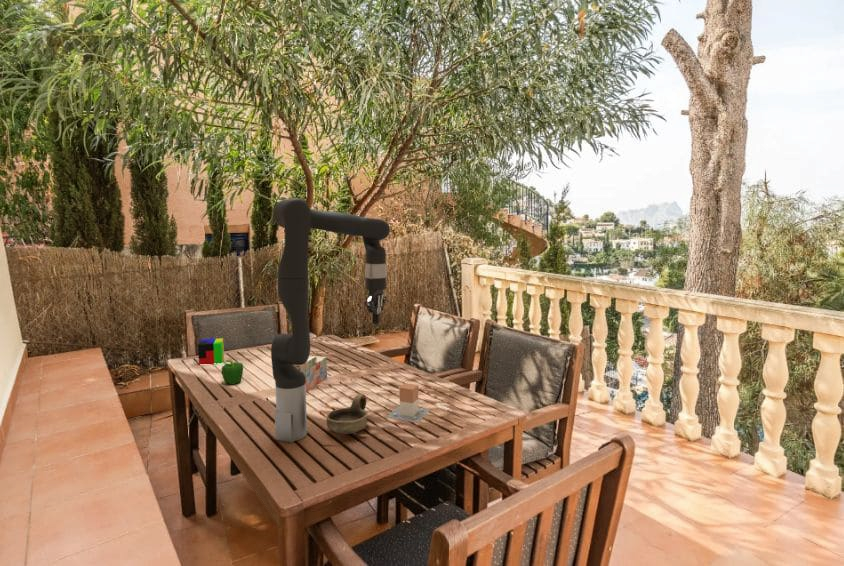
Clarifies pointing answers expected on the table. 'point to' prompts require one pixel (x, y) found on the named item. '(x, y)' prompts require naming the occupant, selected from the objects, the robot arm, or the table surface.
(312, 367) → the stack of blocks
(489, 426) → the table surface
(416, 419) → the plate
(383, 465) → the table surface
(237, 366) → the bell pepper
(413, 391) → the rust cube
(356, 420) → the bowl
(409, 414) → the base cube
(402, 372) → the table surface
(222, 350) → the puzzle toy
